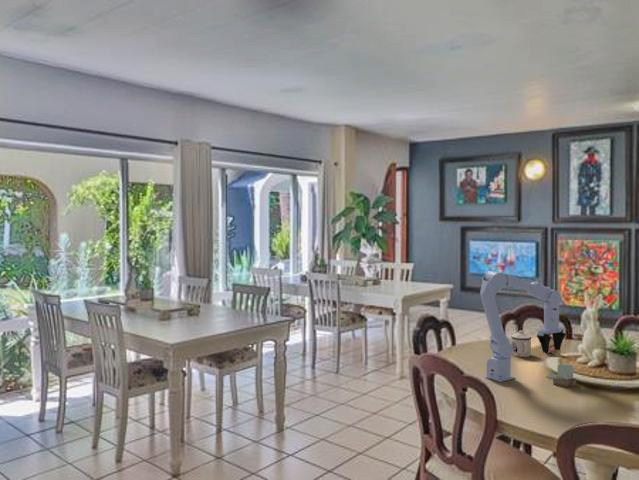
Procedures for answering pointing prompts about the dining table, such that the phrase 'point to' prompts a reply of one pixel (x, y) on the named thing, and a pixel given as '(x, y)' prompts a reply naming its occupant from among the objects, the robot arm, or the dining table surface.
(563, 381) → the walnut slab
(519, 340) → the teacup with lid
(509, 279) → the robot arm
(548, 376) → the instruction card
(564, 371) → the sage block
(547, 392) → the dining table surface
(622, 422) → the dining table surface
